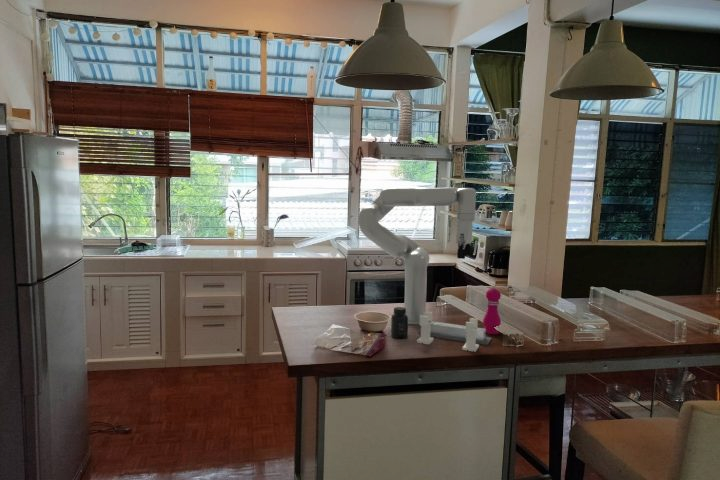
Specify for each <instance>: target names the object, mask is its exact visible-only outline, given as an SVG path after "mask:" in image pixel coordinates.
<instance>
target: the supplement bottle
mask: <svg viewBox="0 0 720 480" xmlns="http://www.w3.org/2000/svg"><path fill="white" fill-rule="evenodd" d="M405 313H406V308H404V306H397V307H394V308H393V314H392V315H391V318H390V319H391V320H390V322H391V324H390V337H391V339H394V340H399V341H401V340H402V341H403V340H406V339H408V338H409V324H408V316H407V315H406V314H405Z"/></svg>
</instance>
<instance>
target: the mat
mask: <svg viewBox="0 0 720 480" xmlns="http://www.w3.org/2000/svg"><path fill="white" fill-rule="evenodd" d="M418 336H421V331H420V332H419V333H418ZM430 337H432V338H437V339H439V338H440V339H445V340H452V341H457V342H464V343H466V339H464V338H458V337H451V336H444V335H438V334H431V333H430ZM492 339H493V338H492V337H489V336H486V338H485V340H484V341H478V340H476V344H478V345H485V346H488V345H489V344H490V342H491V340H492Z"/></svg>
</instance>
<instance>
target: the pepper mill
mask: <svg viewBox="0 0 720 480" xmlns="http://www.w3.org/2000/svg"><path fill="white" fill-rule="evenodd" d="M501 296H502V294H501V292H500V290H498V289H497V287H496V285H494V284H493V285H492V286H491V288H489V289H488V290H487V291H486V292H485V297H486V299H487V300H486V304H487V310H486V313H485V314H484V316H483V320H482V323H483V325H484V327H483V328H484V329H486V334H488V335H498V334H499V333H500V331H499V332H498V331H497V330H496V329H495V328H494V327H496V326H499V325H501V324H502V323H501V317H500V314H499V312H498V311H499V310H498V307H499V304H500V301H499V300H500V299H501ZM499 327H500V326H499Z"/></svg>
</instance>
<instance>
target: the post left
mask: <svg viewBox="0 0 720 480" xmlns="http://www.w3.org/2000/svg"><path fill="white" fill-rule="evenodd" d="M433 315H434V314H433V312H430V311H426V312H425V316H420V325H419V326H420V332H421V335H420V337H419V338H418V339H417V340H416V343H417V344H422V343H423V344H424V345H430V344H432V343H433V342H434V340H435V337H431V336H430V332H431V323H432V321H433V317H434V316H433Z"/></svg>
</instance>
